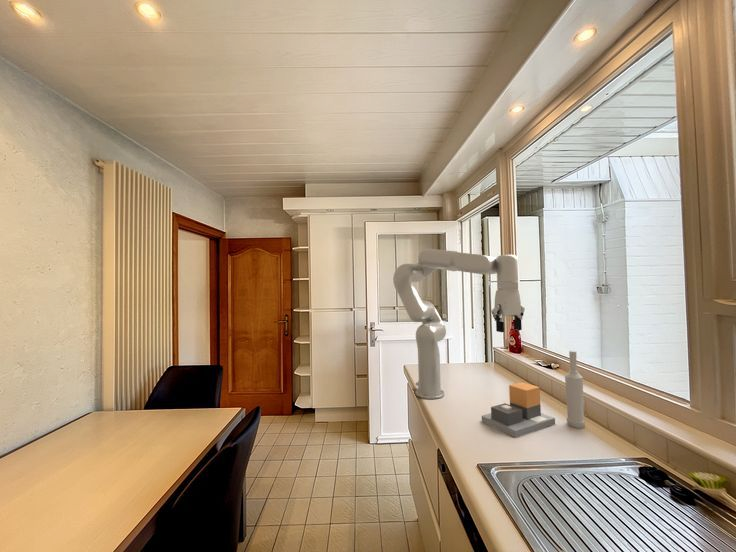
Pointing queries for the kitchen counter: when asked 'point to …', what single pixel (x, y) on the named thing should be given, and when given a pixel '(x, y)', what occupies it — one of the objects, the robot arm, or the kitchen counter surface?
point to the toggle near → (506, 407)
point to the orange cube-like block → (524, 394)
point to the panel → (519, 426)
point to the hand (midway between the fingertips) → (509, 330)
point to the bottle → (574, 394)
